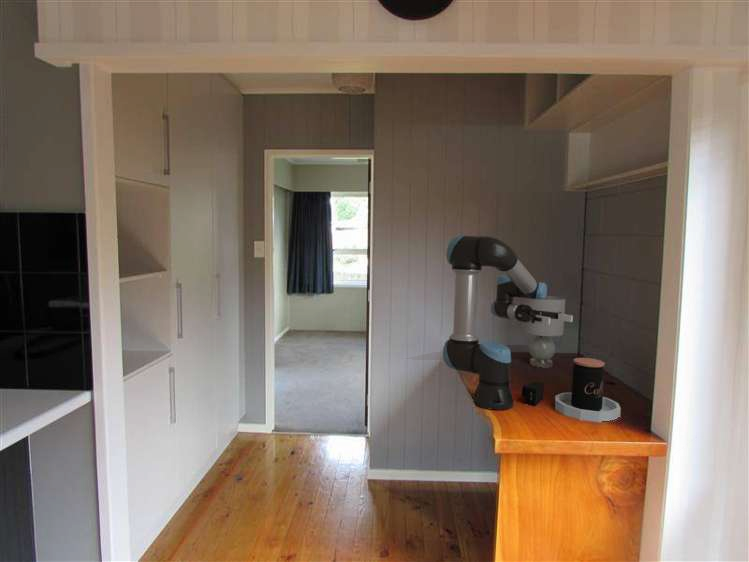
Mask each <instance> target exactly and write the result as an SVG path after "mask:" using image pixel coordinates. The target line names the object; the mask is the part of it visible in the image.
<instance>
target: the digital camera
mask: <svg viewBox="0 0 749 562" xmlns="http://www.w3.org/2000/svg"><path fill="white" fill-rule="evenodd" d="M544 386H545V385H544V382H540V381H535V380H534V381H533V380H532V381H531V382H530V383H528V384H527V385H525V384H524V385H523V386H522V389H521V395H522V397H524V400H523V404H524V405H525V404H528V405H527V406H530V405H532V406H531V407H534V406H535V407H537V406H538V405H539V404H540V403H541V402H542V401H543V400H544V388H545V387H544ZM541 400H542V401H541ZM540 401H541V402H540ZM539 402H540V403H539ZM538 403H539V404H538ZM537 404H538V405H537Z"/></svg>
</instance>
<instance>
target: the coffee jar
mask: <svg viewBox="0 0 749 562" xmlns="http://www.w3.org/2000/svg"><path fill="white" fill-rule="evenodd" d="M573 363H574V364H573V365H572V376H571V377H572V380H571V392H572V395H571V404H572V406H573V407H575V408H578V409H583V410H591V411H600V410H601V409H602V402H603V397H604V382H605V380H604V379H605V368H604V366H605V364H606V362H604V361H603V360H600V359H598V358H597V359H596V358H591V357H576V358H574V359H573Z"/></svg>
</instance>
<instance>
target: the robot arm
mask: <svg viewBox="0 0 749 562" xmlns="http://www.w3.org/2000/svg"><path fill="white" fill-rule="evenodd" d="M445 255H446V260H447V262H448V264H449V265H451V271H452V272H454V274H455V276H454V277H455V279H454V280H455V281H454V304H453V305H454V306H453V330H452V331H453V332H452V333H451V334H450V336H449V338H448V339H447V340H446V341H445V342H444V346H443V347H442V357H443V358H442V359H443V360H444V363H445V365H446V366H447V367H448V368H450V369H453V370H456V371H461V372H466V373H471V374H474V375H475V374H476V375H478V384H477V386H476V389H475V391H474V394H473V399H472V403H473V404H474V405H475V406H477V407H479V408H483V409H485V408H491V409H498V410H497V411H503V410H502V409H507V410H510V409H509V408H511V409H512V408H514V401H515V400H514V398H513V393H512V389H511V387H510V386H511V385H510V383H511V382H510V381H511V368H512V367H511V365H512V364H511V363H512V355H511V354H512V353H511V349H510V347H508V346H507V345H505V344H502V343H499V342H497V341H490V340H489V341H487V340H485V341H481V342H480V344H479V341H480V340H479V337H478V336H477V335H476V321H477V320H476V319H477V318H476V317H477V316H476V314H477V296H478V295H477V292H478V275H479V274H480V273H481V272H482V267H491V268H495V269H496V270H498V271H499V272H503V273H504V274H505V275H499V276H497V281H496V298H495V300H494V301H493V302H491V305H490V312H491V314H492V315H493V316H495V317H498V318H500V319H501V318H502V319H507V320H513V322H522V323H523V322H530V320H531V321H532V323H535V322H539V323H544V324H550V319H558V320H562V321H564V322H568V323H573V321H574V320H573V317H574V315H572V314H562V313H561V312H560V311H559V313H558V312H547V311H537V310H532V308H531V307H530V306H529V305H524V303H523V304H522V303H516V302H514V298H521V299H524V298H528V299H544V298H545V297H546V296H547V293H548V285H547V284H546V283H545V282H542V281H537V280H536V279H535V277H534V276H532V275H531V273H530V272H529V271H528V270H527V268H526V267H525V266H524V265H523V263H522V262H521V261H520V260H519V256H518V254H517V252H516V251H515V250H514V249H513V248H512V247H511V246H510V245H509V244H507V243H505V241H503V240H501V239H499V238H497V237H494V236H488V235H485V236H484V235H483V236H479V235H478V236H477V235H475V236H474V235H473V236H472V235H461V236H459V235H458V236H455V237H453V238H452V239H451V240H450V242H449V243H448V245H447V249H446V253H445ZM491 409H490V410H491Z"/></svg>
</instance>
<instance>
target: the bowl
mask: <svg viewBox="0 0 749 562" xmlns="http://www.w3.org/2000/svg"><path fill="white" fill-rule="evenodd" d="M571 395H572V391H571V392H562V393H558V394H556V395H555V396H554V410H555V411H557V412H559V413H560V414H562V415H563V416H566V417H568V418H572V419H577V420H579V421H587V422H591V423H592V422H593V423H603V422H602V421H610V420H611V421H612V420H615V419H617V418H618V417H620V418H621V410H622V408H621V406H620V404H619V403H618V402H617V401H615V400H613V399H610V398H608V397H605V396H603V402H602V409H601V410H600V411H591V410H583V409H578V408H575V407H573V406H572V404H571ZM617 420H618V419H617ZM615 421H616V420H615Z"/></svg>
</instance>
